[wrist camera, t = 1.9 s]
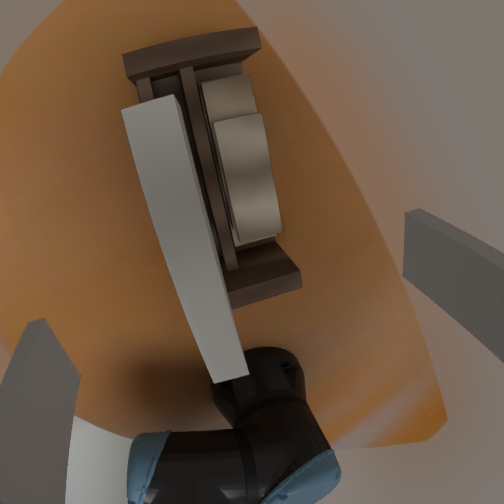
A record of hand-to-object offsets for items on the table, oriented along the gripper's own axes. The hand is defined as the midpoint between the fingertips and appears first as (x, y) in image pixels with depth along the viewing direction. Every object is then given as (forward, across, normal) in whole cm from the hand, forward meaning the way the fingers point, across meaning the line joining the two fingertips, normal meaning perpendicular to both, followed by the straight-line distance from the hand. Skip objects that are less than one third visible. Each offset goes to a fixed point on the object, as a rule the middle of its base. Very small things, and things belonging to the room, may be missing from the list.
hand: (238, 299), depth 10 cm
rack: (+27, -2, 0) cm, 27 cm away
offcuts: (+26, -5, 0) cm, 26 cm away
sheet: (+26, 0, 0) cm, 26 cm away
